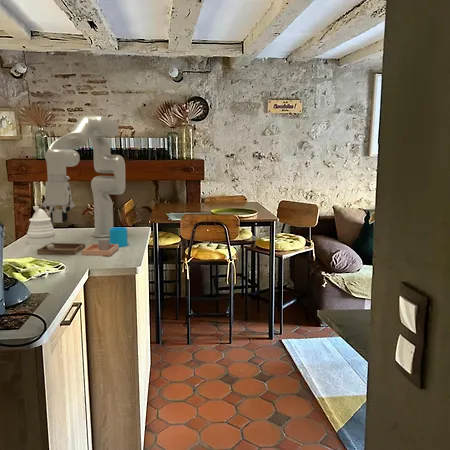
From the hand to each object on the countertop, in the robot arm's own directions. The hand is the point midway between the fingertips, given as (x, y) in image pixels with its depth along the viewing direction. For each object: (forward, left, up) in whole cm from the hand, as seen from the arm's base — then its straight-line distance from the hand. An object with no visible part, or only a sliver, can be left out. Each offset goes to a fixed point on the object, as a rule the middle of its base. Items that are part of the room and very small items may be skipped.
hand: (59, 221), depth 196 cm
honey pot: (-24, -19, -15) cm, 34 cm away
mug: (-22, +20, -15) cm, 33 cm away
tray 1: (-4, -1, -15) cm, 15 cm away
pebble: (-4, -6, -14) cm, 16 cm away
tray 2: (-4, +17, -15) cm, 22 cm away
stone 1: (0, 0, 0) cm, 0 cm away
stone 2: (-7, +17, -14) cm, 23 cm away
